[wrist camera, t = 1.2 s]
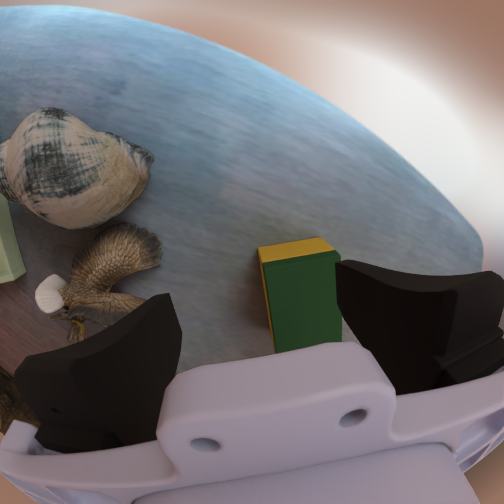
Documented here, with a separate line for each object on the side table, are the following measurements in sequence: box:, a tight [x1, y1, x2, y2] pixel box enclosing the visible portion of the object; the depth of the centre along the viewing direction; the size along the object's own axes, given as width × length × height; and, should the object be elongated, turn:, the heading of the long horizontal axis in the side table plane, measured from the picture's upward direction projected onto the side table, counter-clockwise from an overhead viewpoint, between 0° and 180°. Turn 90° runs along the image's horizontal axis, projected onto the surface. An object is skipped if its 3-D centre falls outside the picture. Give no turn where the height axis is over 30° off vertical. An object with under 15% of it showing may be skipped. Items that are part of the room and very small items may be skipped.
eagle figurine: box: [35, 223, 162, 342], centre depth 16 cm, size 8×7×9 cm
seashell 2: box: [0, 108, 154, 231], centre depth 14 cm, size 6×8×12 cm
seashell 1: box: [0, 368, 42, 436], centre depth 20 cm, size 16×9×7 cm, turn 58°
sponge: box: [258, 237, 342, 354], centre depth 19 cm, size 7×4×4 cm, turn 9°
